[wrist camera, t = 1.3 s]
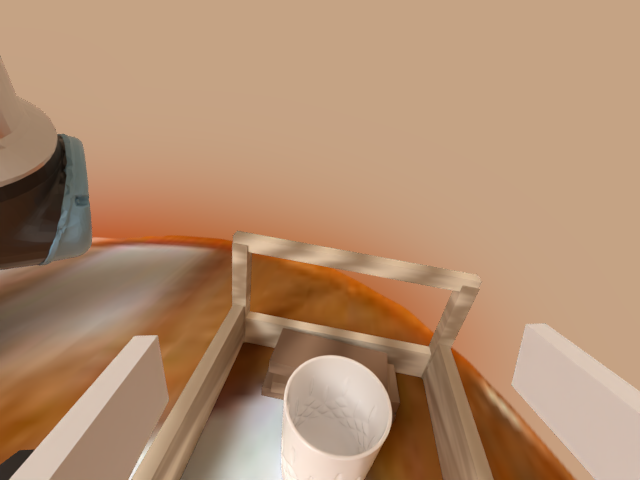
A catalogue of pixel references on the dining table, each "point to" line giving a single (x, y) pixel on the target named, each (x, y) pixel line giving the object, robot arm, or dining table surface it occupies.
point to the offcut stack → (304, 347)
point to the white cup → (333, 420)
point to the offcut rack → (412, 359)
